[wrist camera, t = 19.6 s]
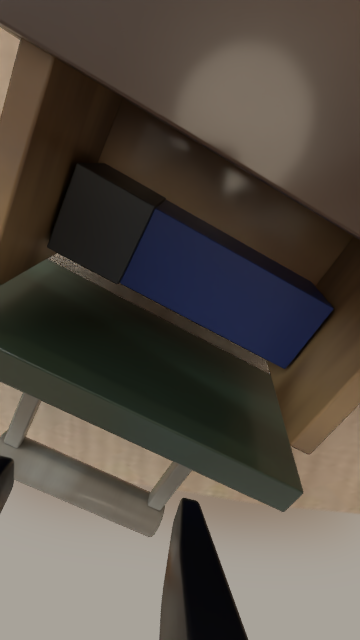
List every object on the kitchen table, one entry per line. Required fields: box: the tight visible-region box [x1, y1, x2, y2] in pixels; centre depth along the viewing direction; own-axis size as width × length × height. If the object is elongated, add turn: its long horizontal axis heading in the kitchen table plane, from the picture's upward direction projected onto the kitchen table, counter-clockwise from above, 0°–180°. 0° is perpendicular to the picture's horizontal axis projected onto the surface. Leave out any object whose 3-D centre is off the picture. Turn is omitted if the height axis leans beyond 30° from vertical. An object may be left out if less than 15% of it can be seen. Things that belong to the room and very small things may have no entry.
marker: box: [47, 163, 334, 369], centre depth 14 cm, size 10×3×3 cm, turn 62°
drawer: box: [0, 38, 360, 537], centre depth 13 cm, size 17×13×7 cm
